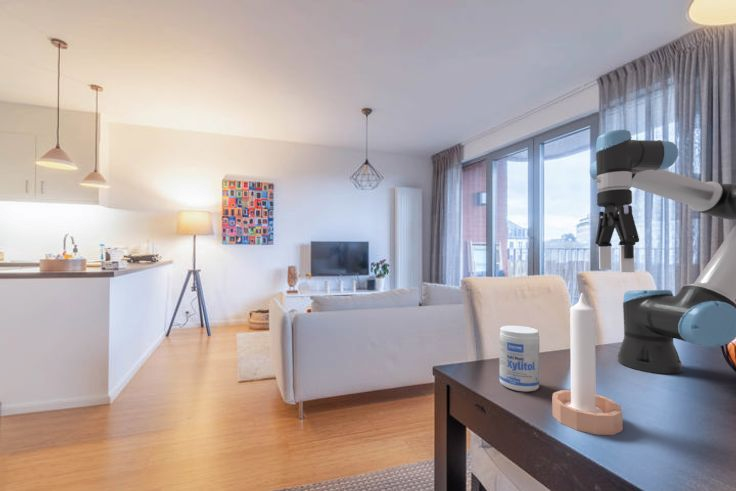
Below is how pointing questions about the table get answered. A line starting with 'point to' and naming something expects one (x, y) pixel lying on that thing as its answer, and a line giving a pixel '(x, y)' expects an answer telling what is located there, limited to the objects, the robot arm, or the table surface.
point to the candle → (583, 357)
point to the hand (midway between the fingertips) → (615, 270)
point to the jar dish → (588, 415)
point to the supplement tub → (519, 358)
